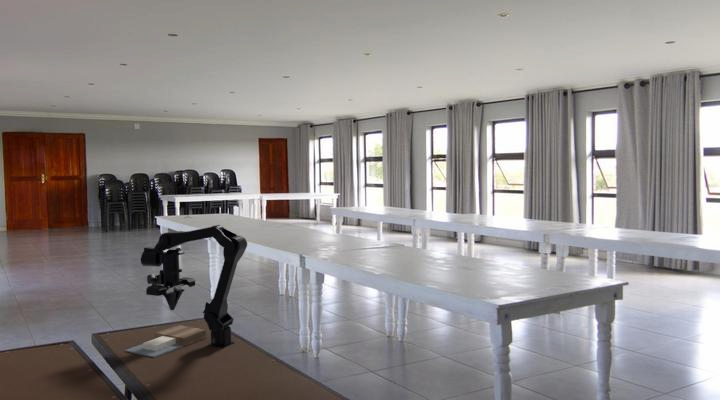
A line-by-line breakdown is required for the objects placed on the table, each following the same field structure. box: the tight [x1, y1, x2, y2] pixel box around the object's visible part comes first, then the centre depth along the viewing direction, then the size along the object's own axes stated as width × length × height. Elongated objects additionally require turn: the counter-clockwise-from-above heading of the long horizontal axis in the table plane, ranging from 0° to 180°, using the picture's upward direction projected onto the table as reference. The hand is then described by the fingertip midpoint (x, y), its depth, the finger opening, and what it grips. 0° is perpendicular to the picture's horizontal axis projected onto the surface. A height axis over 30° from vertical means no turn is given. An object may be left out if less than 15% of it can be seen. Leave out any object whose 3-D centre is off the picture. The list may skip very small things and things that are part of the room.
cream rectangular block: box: [142, 336, 176, 351], centre depth 199 cm, size 6×9×2 cm, turn 152°
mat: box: [124, 343, 184, 359], centre depth 198 cm, size 14×13×1 cm
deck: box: [154, 324, 207, 347], centre depth 208 cm, size 14×11×3 cm
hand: (172, 309), depth 206 cm, fingers closed
